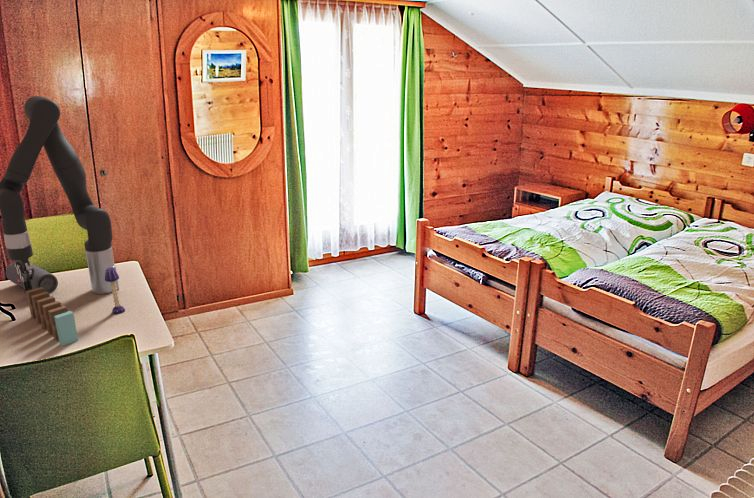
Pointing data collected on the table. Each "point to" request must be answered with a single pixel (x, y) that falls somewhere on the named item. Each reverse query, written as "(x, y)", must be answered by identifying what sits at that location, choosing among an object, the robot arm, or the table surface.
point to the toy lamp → (114, 288)
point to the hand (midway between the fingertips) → (28, 290)
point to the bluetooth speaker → (34, 278)
